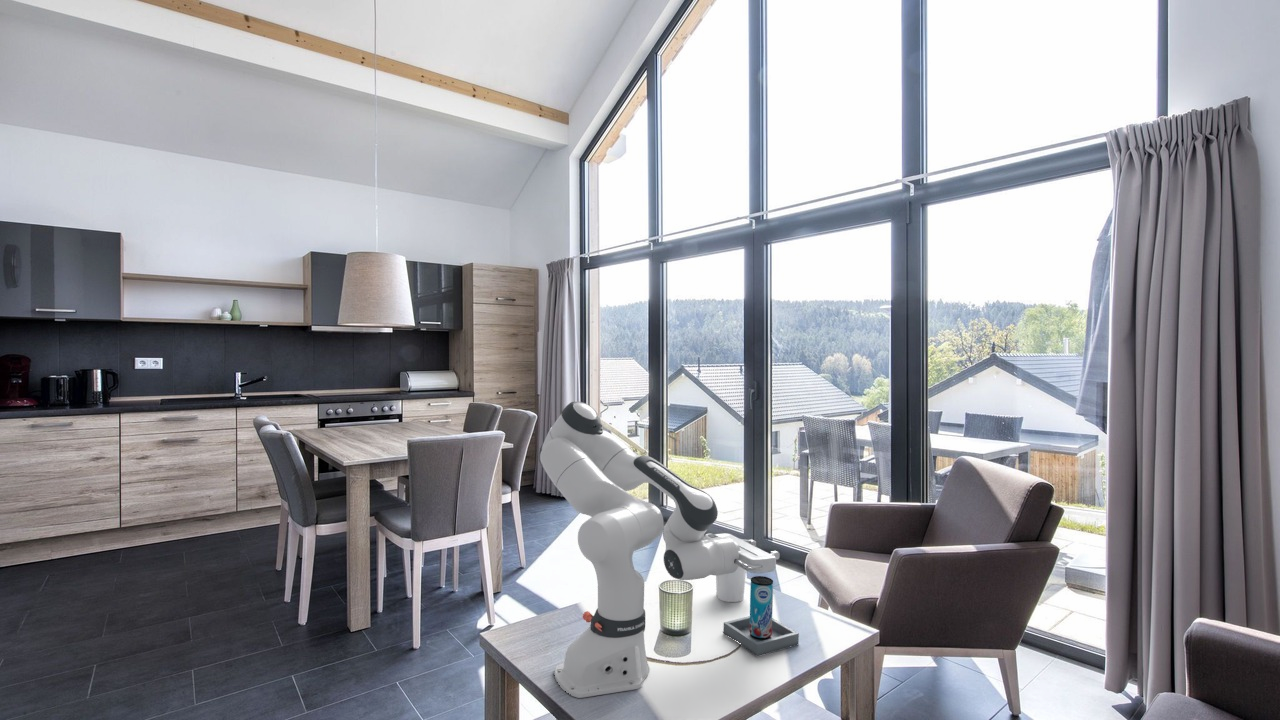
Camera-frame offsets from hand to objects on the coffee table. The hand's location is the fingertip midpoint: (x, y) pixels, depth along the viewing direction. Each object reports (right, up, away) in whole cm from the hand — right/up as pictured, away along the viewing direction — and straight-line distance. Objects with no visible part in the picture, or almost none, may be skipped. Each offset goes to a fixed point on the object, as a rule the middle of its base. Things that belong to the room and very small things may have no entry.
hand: (765, 548), depth 163 cm
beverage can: (-1, -24, +1) cm, 24 cm away
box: (-1, -24, 0) cm, 24 cm away
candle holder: (-5, -24, +28) cm, 37 cm away
